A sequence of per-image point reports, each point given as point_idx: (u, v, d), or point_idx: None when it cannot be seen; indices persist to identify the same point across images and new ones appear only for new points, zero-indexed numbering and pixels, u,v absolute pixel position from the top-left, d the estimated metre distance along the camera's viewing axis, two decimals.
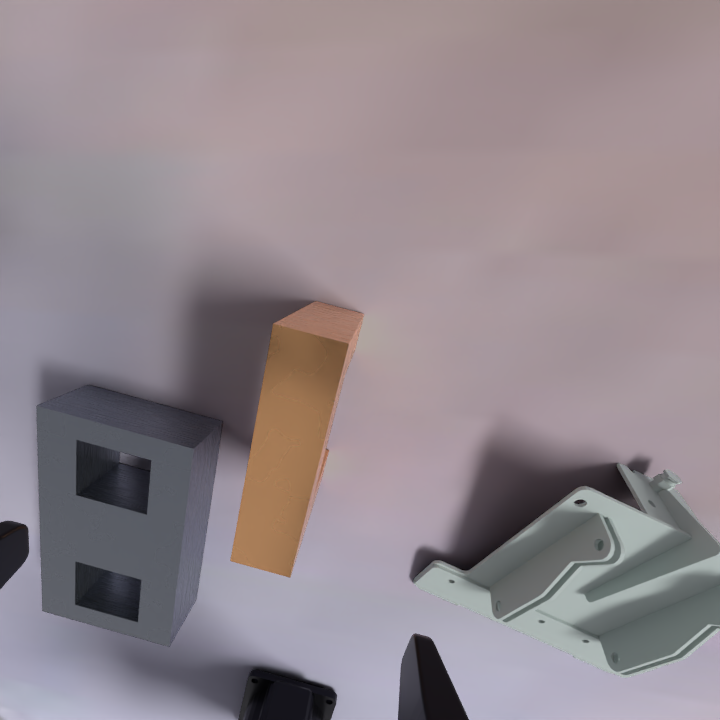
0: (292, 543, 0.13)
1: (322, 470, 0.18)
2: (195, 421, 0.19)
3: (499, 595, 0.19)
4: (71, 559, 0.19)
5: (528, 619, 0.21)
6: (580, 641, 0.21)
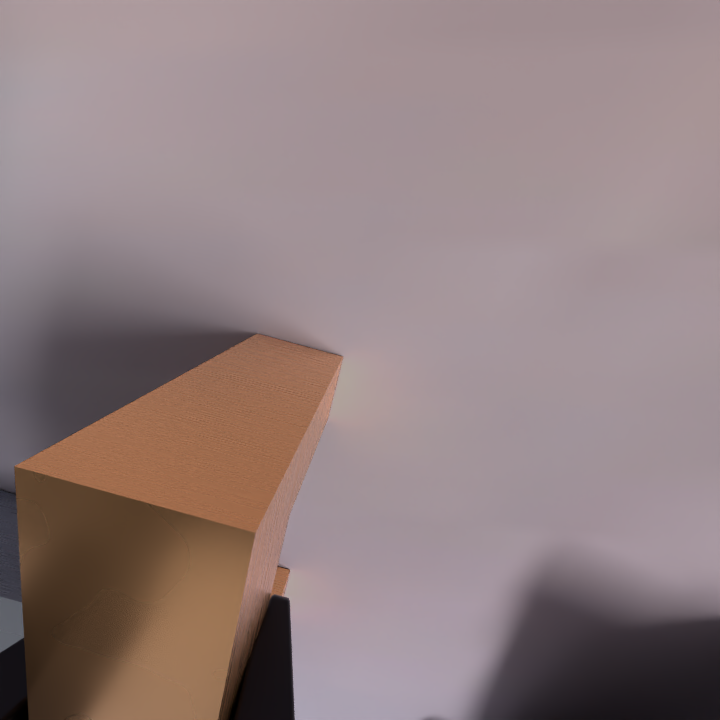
0: None
1: None
2: None
3: None
4: None
5: None
6: None
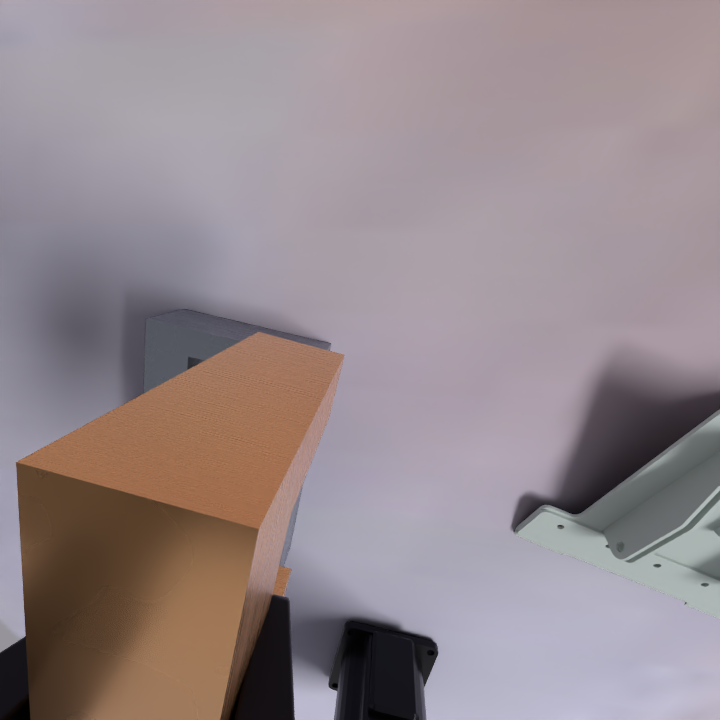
0: None
1: None
2: (305, 341, 0.17)
3: (619, 536, 0.18)
4: None
5: (642, 564, 0.20)
6: (698, 585, 0.20)
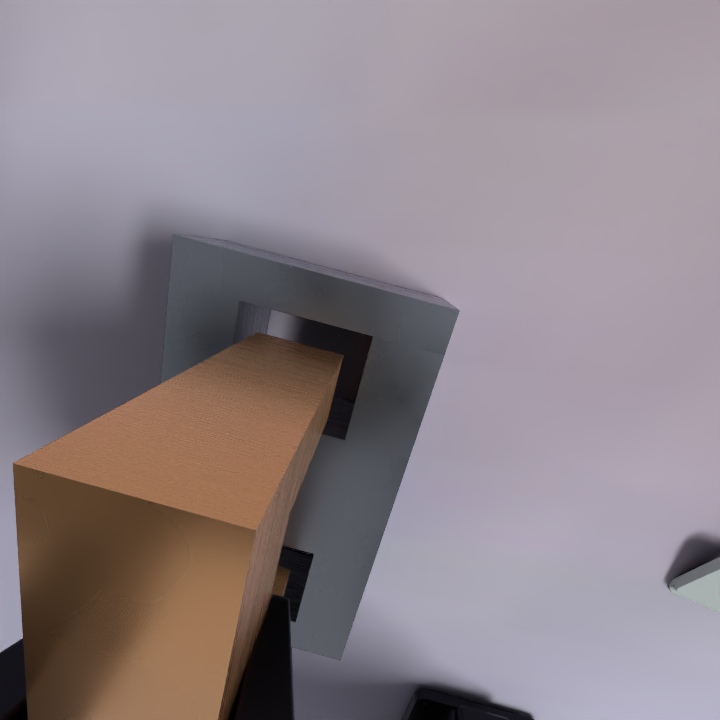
0: None
1: None
2: (411, 291, 0.11)
3: None
4: None
5: None
6: None
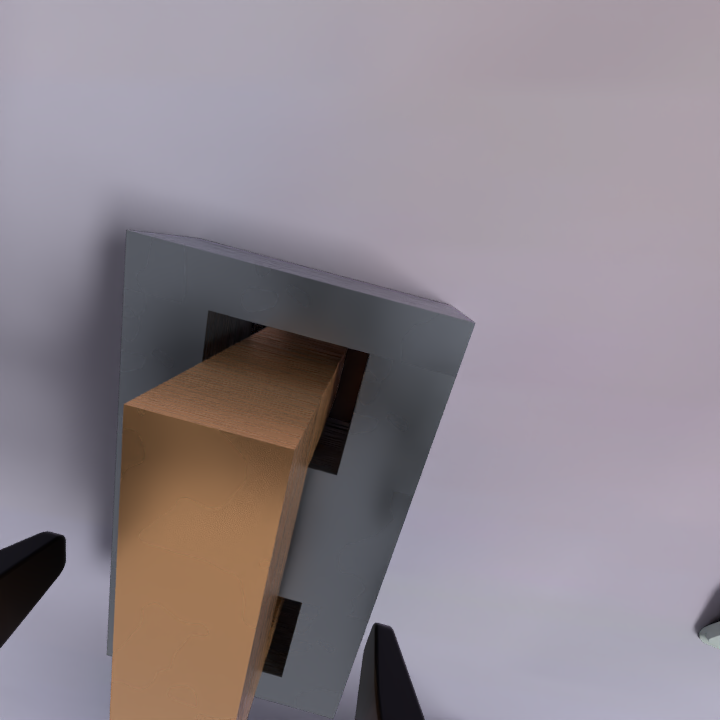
0: None
1: None
2: (415, 297, 0.10)
3: None
4: None
5: None
6: None
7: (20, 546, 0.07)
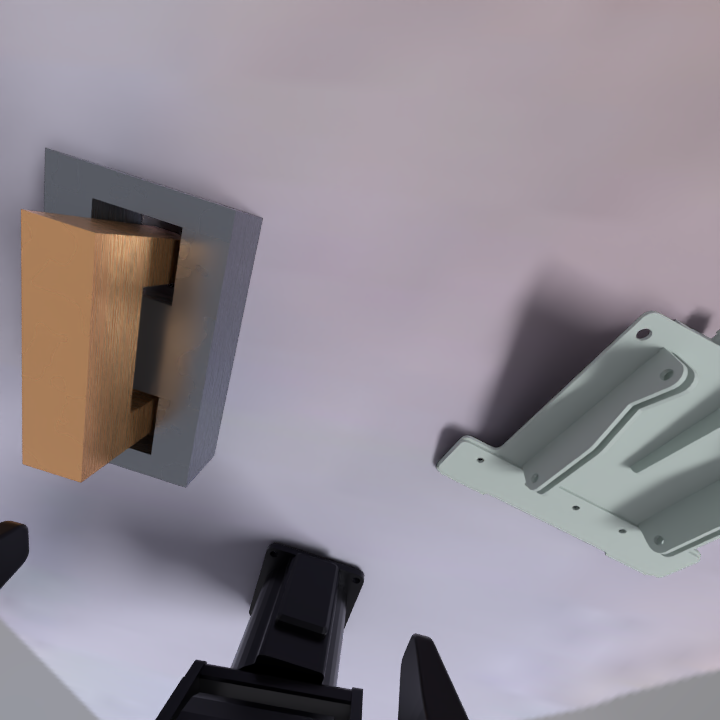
0: (77, 446, 0.14)
1: None
2: (232, 208, 0.16)
3: (535, 468, 0.17)
4: None
5: (561, 506, 0.19)
6: (616, 531, 0.19)
7: None
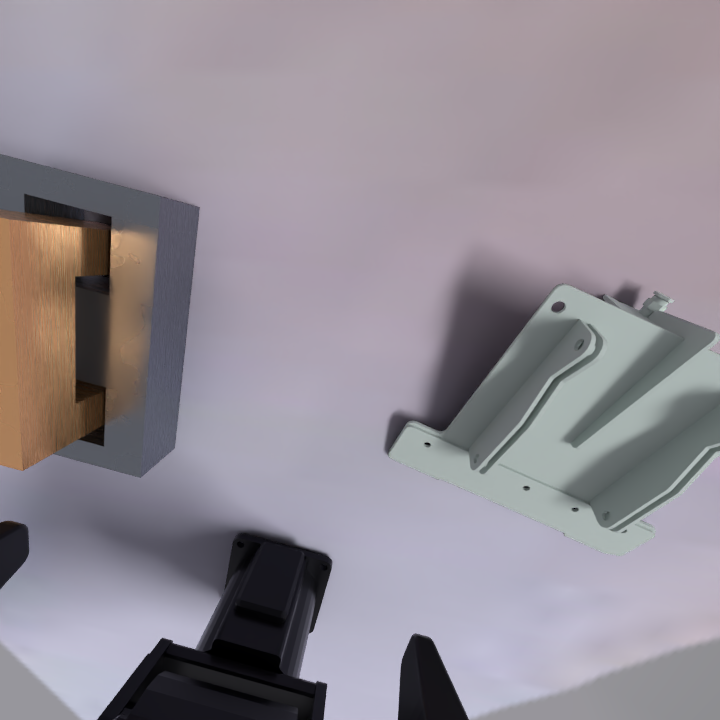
0: (15, 434, 0.14)
1: None
2: None
3: (477, 449, 0.17)
4: None
5: (512, 487, 0.19)
6: (569, 510, 0.19)
7: None
